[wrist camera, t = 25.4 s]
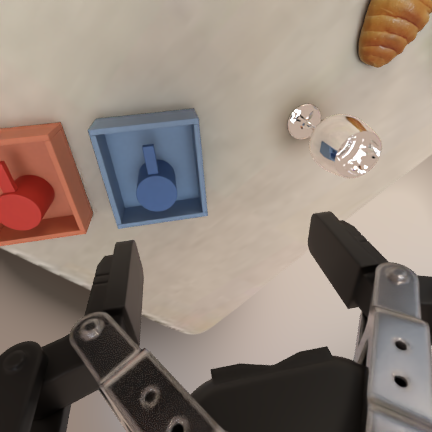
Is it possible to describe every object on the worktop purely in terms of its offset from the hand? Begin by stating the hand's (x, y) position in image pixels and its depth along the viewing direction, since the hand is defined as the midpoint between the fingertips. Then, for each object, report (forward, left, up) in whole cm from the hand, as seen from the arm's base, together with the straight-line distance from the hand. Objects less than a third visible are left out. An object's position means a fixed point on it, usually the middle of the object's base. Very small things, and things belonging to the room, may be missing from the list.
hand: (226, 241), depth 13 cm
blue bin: (+6, -4, -25) cm, 26 cm away
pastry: (-8, +24, -25) cm, 36 cm away
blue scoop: (+6, -4, -24) cm, 25 cm away
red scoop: (+6, -19, -24) cm, 32 cm away
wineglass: (+3, +15, -25) cm, 30 cm away
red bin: (+6, -19, -25) cm, 32 cm away
